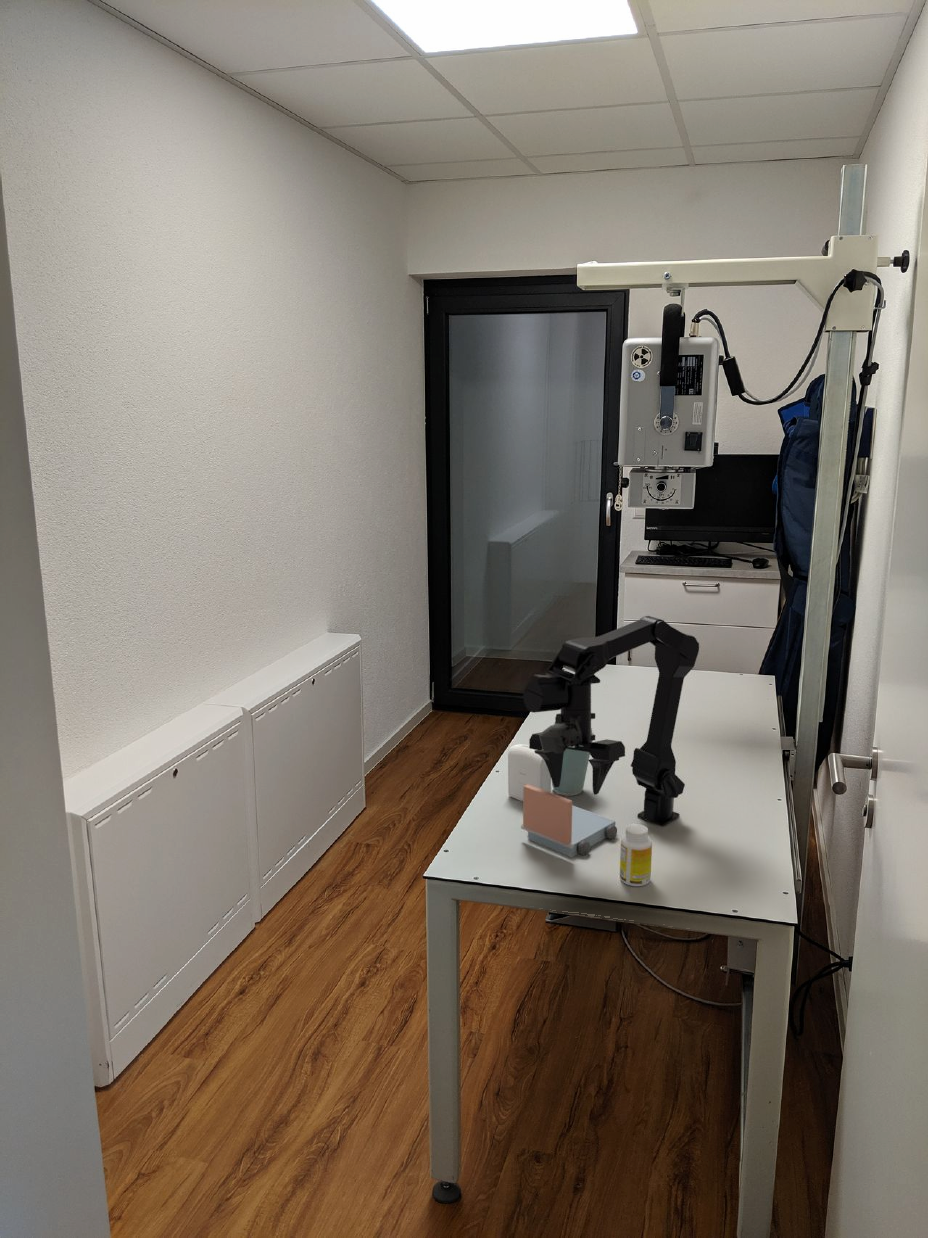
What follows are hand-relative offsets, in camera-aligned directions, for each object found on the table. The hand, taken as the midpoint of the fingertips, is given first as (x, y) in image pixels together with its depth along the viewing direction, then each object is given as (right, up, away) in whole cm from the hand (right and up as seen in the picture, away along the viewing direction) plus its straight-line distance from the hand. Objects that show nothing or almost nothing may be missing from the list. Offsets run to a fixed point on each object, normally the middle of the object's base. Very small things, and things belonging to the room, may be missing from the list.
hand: (576, 790), depth 180 cm
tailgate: (-5, -10, +5) cm, 12 cm away
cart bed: (0, -11, +11) cm, 16 cm away
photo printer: (-7, -7, +27) cm, 29 cm away
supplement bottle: (+10, -15, -6) cm, 19 cm away
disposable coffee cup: (+2, -6, +32) cm, 33 cm away
